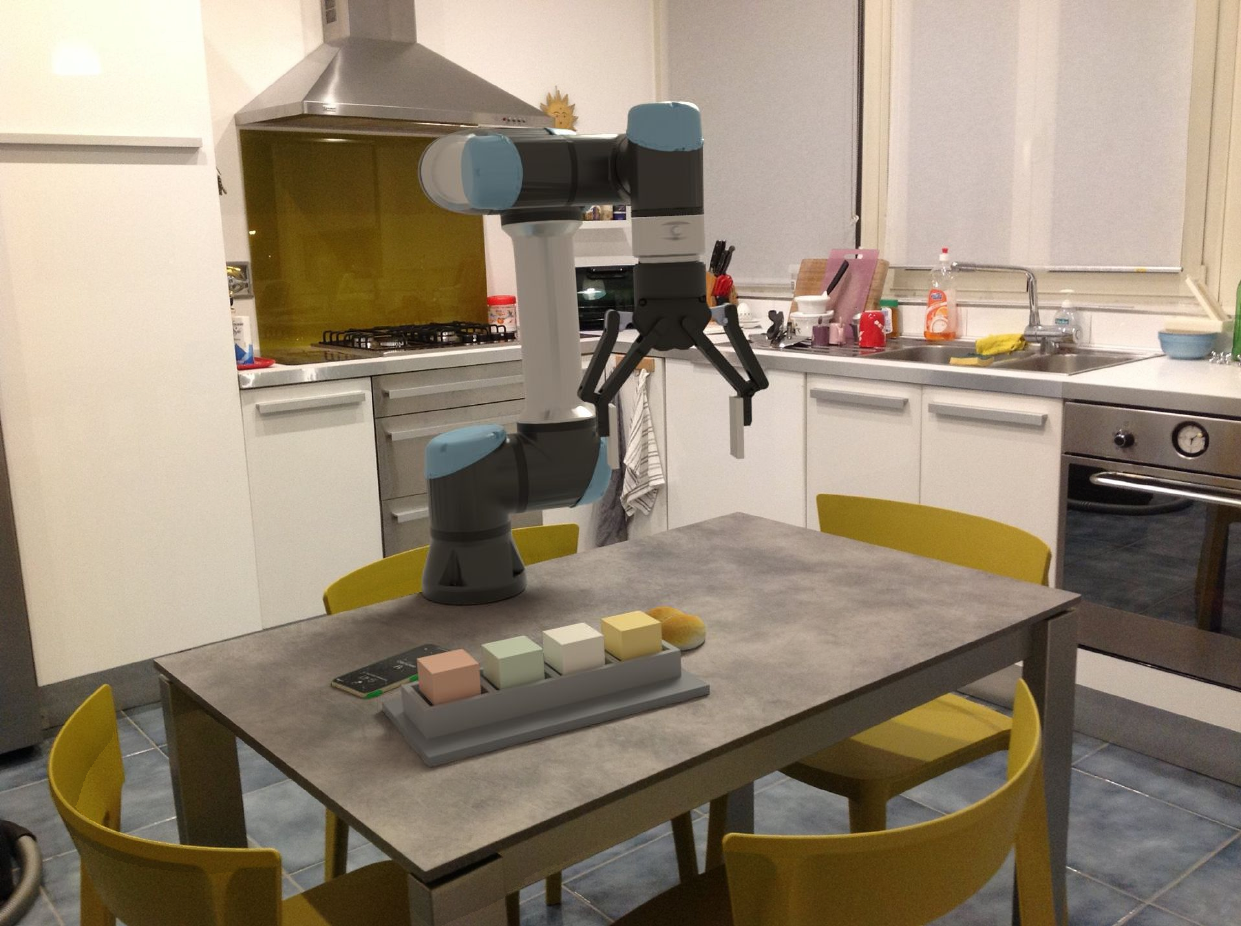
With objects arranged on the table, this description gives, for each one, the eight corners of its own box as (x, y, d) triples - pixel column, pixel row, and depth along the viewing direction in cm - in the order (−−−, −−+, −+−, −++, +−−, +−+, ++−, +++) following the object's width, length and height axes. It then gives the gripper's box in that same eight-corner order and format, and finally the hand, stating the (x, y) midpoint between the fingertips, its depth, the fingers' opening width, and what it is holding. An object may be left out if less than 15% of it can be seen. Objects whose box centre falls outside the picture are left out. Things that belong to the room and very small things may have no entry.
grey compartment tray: (382, 709, 123) (379, 675, 122) (639, 649, 138) (638, 618, 137) (429, 766, 109) (426, 728, 108) (709, 693, 124) (708, 658, 123)
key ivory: (544, 661, 125) (542, 631, 125) (584, 651, 128) (583, 622, 127) (563, 675, 121) (561, 644, 120) (605, 665, 123) (603, 635, 122)
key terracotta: (419, 689, 119) (416, 658, 118) (464, 679, 121) (462, 648, 120) (434, 706, 114) (432, 673, 114) (481, 695, 117) (478, 663, 116)
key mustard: (602, 647, 129) (600, 618, 128) (640, 639, 131) (639, 610, 130) (622, 661, 124) (621, 631, 123) (662, 652, 126) (661, 622, 126)
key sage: (483, 675, 122) (481, 644, 121) (526, 665, 124) (524, 635, 124) (500, 690, 118) (498, 658, 117) (544, 680, 120) (542, 648, 119)
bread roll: (673, 659, 135) (672, 627, 134) (624, 640, 141) (622, 610, 141) (722, 640, 140) (721, 610, 139) (672, 624, 147) (671, 594, 146)
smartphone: (468, 654, 137) (366, 694, 126) (468, 661, 137) (367, 703, 126) (427, 641, 142) (326, 679, 131) (428, 648, 142) (327, 687, 131)
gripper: (553, 266, 111) (565, 477, 115) (797, 254, 115) (799, 458, 119) (544, 264, 118) (555, 463, 122) (773, 253, 122) (776, 446, 126)
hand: (675, 461), depth 121 cm, fingers open, 13 cm apart
